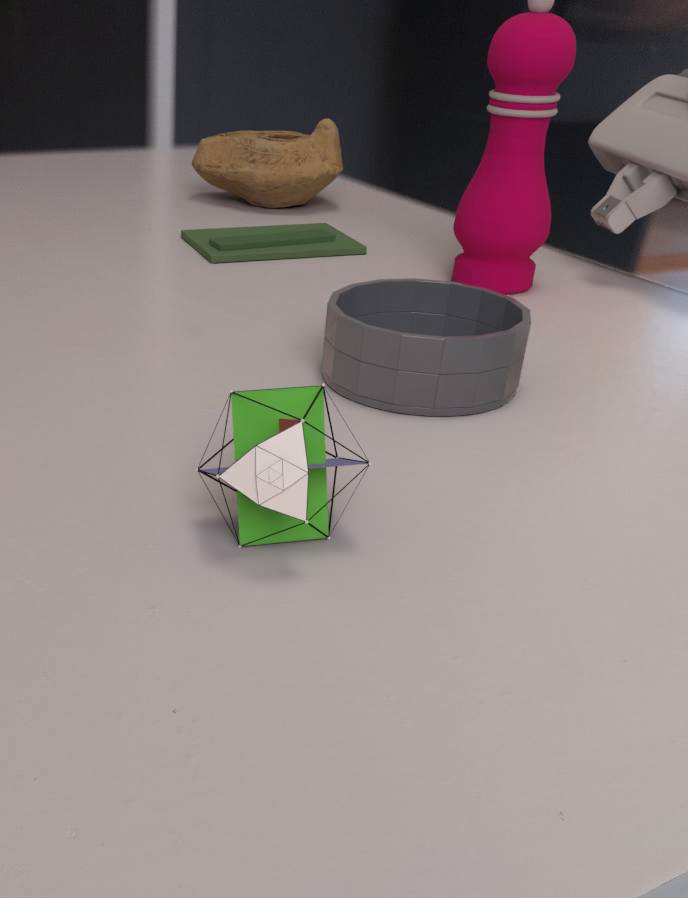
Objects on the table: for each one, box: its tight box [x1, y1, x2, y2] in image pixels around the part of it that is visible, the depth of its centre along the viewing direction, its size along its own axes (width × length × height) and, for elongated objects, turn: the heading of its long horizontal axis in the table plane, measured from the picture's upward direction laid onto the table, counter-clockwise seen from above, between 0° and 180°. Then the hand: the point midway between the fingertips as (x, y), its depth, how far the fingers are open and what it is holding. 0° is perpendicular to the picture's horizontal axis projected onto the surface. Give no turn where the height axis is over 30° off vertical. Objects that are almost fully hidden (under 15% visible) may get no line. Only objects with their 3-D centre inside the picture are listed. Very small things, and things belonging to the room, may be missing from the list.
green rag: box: [180, 222, 368, 264], centre depth 90 cm, size 14×9×1 cm, turn 107°
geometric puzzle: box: [195, 383, 373, 549], centre depth 45 cm, size 7×7×8 cm
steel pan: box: [321, 277, 532, 417], centre depth 62 cm, size 12×12×4 cm
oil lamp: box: [191, 118, 344, 209], centre depth 102 cm, size 11×15×8 cm
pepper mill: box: [451, 0, 577, 295], centre depth 76 cm, size 7×7×20 cm
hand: (602, 224), depth 80 cm, fingers closed
